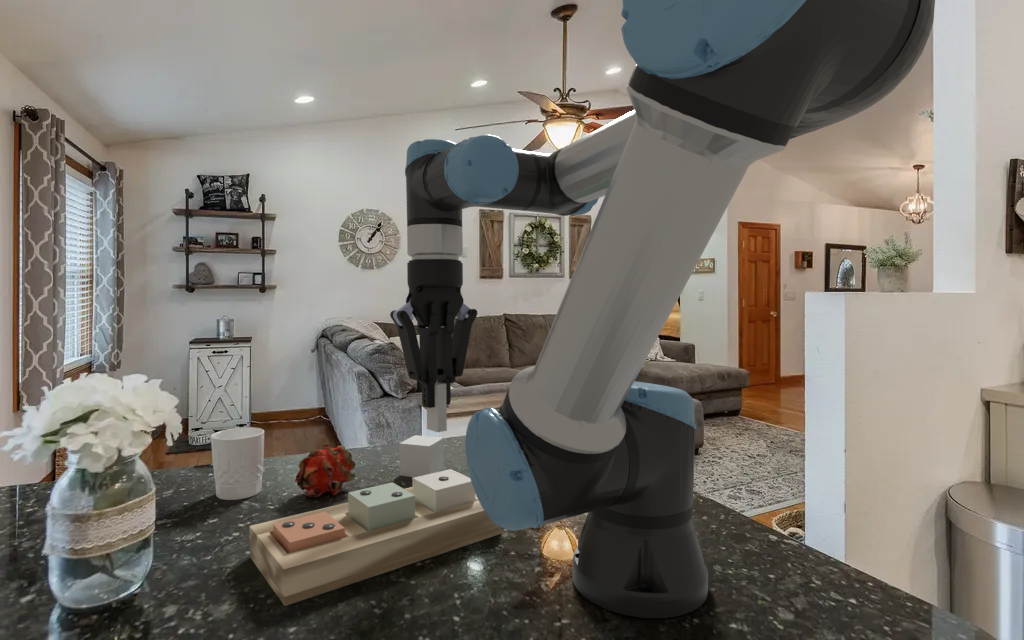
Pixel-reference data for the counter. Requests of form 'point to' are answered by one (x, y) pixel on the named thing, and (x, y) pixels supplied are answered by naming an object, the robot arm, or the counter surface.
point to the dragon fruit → (325, 471)
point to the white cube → (421, 456)
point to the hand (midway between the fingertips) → (436, 429)
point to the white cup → (238, 462)
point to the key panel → (364, 548)
